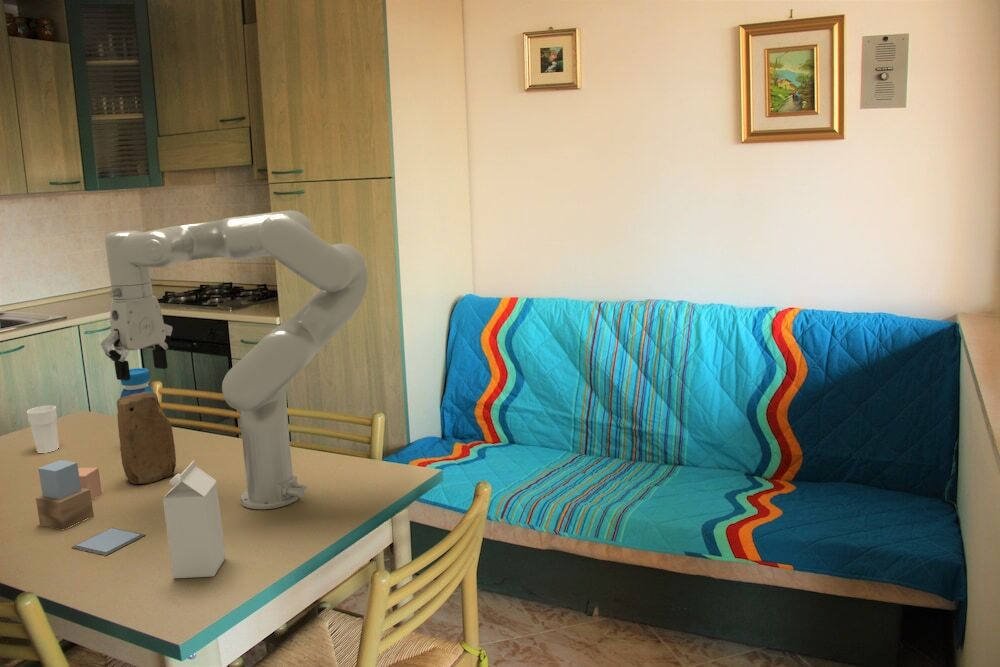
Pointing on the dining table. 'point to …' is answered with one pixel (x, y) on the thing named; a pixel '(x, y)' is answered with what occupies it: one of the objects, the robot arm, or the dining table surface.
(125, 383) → the beverage bottle
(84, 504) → the walnut block
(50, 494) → the slate block
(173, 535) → the milk carton
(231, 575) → the dining table surface
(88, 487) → the terracotta block
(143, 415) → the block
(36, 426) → the cup
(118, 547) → the swatch
